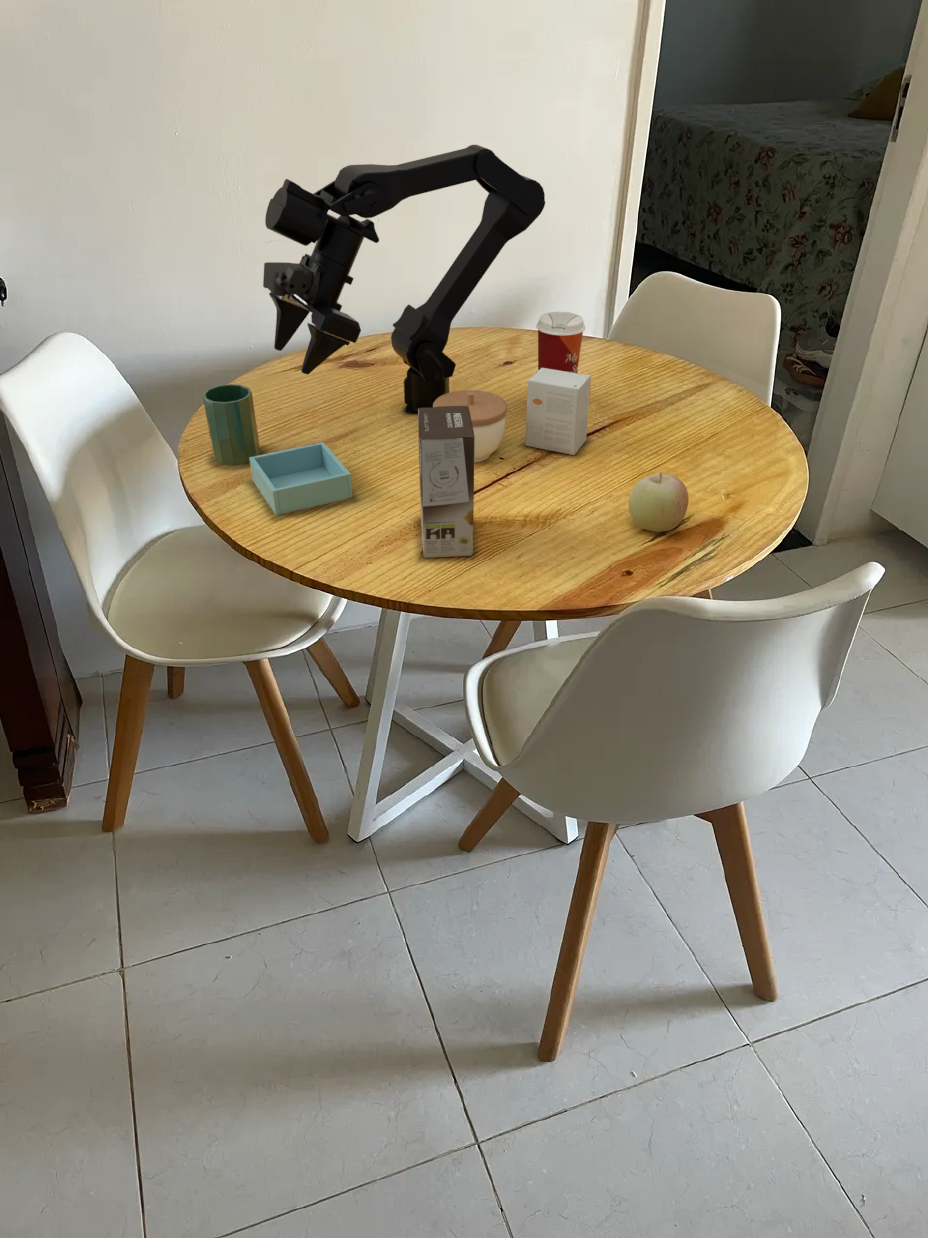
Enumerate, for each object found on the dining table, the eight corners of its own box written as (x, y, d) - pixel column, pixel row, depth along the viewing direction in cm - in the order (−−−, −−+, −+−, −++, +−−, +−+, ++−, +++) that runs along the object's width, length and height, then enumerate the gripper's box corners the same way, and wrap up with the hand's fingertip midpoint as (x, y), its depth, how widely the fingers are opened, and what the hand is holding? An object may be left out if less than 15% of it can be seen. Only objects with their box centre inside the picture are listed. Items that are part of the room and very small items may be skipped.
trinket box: (418, 455, 136) (417, 395, 130) (465, 431, 142) (465, 373, 137) (474, 477, 130) (475, 415, 125) (520, 451, 137) (523, 391, 131)
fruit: (665, 547, 116) (674, 491, 111) (616, 527, 120) (622, 472, 115) (695, 523, 120) (705, 469, 116) (647, 505, 124) (654, 451, 119)
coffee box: (474, 556, 114) (476, 437, 104) (423, 558, 113) (419, 439, 104) (468, 519, 121) (469, 404, 111) (419, 520, 121) (416, 405, 111)
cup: (269, 456, 135) (260, 391, 129) (234, 472, 131) (224, 406, 125) (239, 443, 139) (230, 380, 133) (204, 459, 134) (193, 394, 128)
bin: (325, 467, 133) (323, 441, 130) (353, 500, 125) (351, 473, 123) (252, 483, 129) (249, 457, 126) (276, 518, 121) (272, 491, 119)
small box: (586, 441, 140) (592, 374, 133) (574, 456, 136) (580, 388, 129) (537, 431, 142) (541, 366, 136) (524, 446, 138) (527, 379, 132)
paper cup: (576, 414, 147) (583, 328, 139) (528, 410, 149) (533, 324, 140) (581, 395, 154) (588, 311, 145) (535, 391, 155) (540, 308, 146)
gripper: (256, 217, 130) (217, 321, 135) (315, 258, 118) (270, 370, 123) (320, 247, 138) (281, 344, 143) (382, 288, 126) (336, 392, 131)
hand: (290, 361), depth 135 cm, fingers open, 9 cm apart
